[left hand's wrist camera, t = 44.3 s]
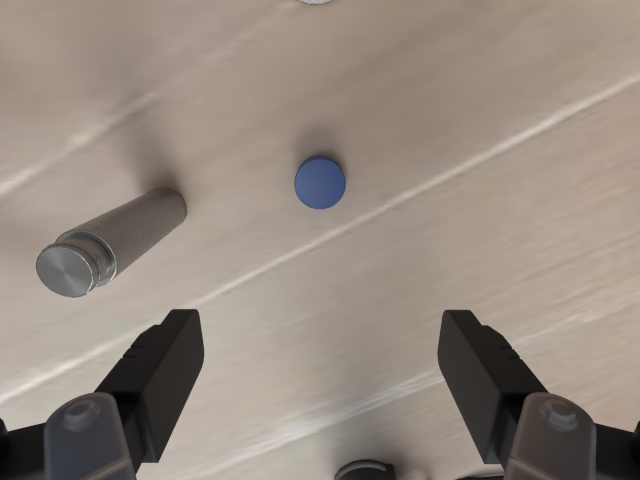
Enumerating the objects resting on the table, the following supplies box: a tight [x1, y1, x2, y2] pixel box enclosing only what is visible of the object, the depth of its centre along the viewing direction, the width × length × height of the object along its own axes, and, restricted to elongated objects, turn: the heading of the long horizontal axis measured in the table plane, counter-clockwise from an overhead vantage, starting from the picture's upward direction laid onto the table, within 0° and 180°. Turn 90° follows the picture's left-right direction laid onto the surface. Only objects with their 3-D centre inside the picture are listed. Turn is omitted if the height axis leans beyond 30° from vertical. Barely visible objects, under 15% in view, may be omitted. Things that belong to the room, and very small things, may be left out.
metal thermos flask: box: [36, 188, 187, 298], centre depth 30 cm, size 4×4×16 cm
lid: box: [295, 156, 345, 209], centre depth 35 cm, size 5×5×2 cm
